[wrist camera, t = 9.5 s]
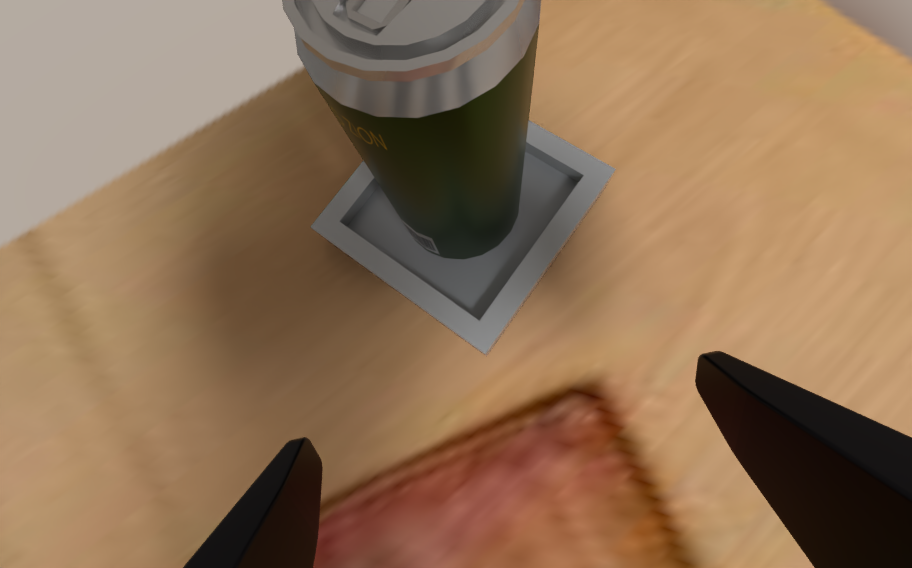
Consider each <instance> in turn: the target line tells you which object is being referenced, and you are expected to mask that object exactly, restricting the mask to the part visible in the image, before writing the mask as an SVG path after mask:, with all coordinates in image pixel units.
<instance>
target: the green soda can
mask: <svg viewBox="0 0 912 568" xmlns="http://www.w3.org/2000/svg"><path fill="white" fill-rule="evenodd" d="M282 2H283V9H284V11H285V13H286V15H287V16H288V18H289V20H290V22H291V23H292V25H293V27H294V31H295V38H296V45H297V53H298V55H299V57H300V59H301V61H302V62H303V64H304V66H305V68H306V70H307V71H308V73H309V75H310V77H311V78H312V80H313V82H314V83H315V85H316V87H317V88H318V90H319V91H320V93H321V94H322V96H323V98H324V99H325V101H326V102H327V104H328V105H329V107H330V109H331V110H332V112H333V113H334V115H335V116H336V118H337V120H338V121H339V123H340V124H341V126H342V127H343V129H344V130H345V132H346V134H347V135H348V137H349V138H350V140H351V141H352V143H353V145H354V146H355V148H356V149H357V151H358V152H359V154H360V156H361V157H362V159H363V160H364V162H365V163H366V165H367V167H368V168H369V170H370V171H371V173H372V174H373V176H374V178H375V179H376V181H377V182H378V184H379V185H380V187H381V189H382V190H383V192H384V193H385V195H386V196H387V198H388V200H389V201H390V203H391V204H392V206H393V207H394V209H395V211H396V212H397V214H398V215H399V217H400V218H401V220H402V222H403V223H404V225H405V226H406V228H407V229H408V231H409V233H410V234H411V236H412V237H413V239H414V240H415V241H416V242H417V243H418V244H420V245H421V246H422V247H423V248H424V249H425V250H427V251H428V252H431V253H433V254H436V255H438V256H440V257H443V258H449V259H463V260H464V259H468V258H472V257H476V256H481V255H483V254H485V253H487V252H488V251H490V250H492V249H493V248H495V247H497V246H498V245H499V244H500V243H501V242H502V241H503V240H504V239H505V238H506V237H507V235H508V234H509V233H510V232H511V230H512V228H513V226H514V224H515V221H516V219H517V217H518V213H519V203H520V194H521V185H522V176H523V167H524V158H525V149H526V139H527V130H528V121H529V112H530V103H531V94H532V85H533V75H534V66H535V57H536V48H537V39H538V30H539V19H540V6H541V0H282Z"/></svg>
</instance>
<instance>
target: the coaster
mask: <svg viewBox="0 0 912 568" xmlns="http://www.w3.org/2000/svg"><path fill="white" fill-rule="evenodd" d="M615 170H616V169H615V168H613V167H611V166H609V165H607V164H606V163H604V162H602V161H600V160H599V159H597V158H595V157H593V156H591V155H590V154H588V153H586V152H584V151H583V150H581V149H579V148H577V147H575V146H574V145H572V144H570V143H568V142H567V141H565V140H563V139H561V138H560V137H558V136H556V135H554V134H552V133H551V132H549V131H547V130H545V129H544V128H542V127H540V126H538V125H536V124H535V123H533V122H531V121H528V130H527V139H526V149H525V158H524V167H523V176H522V185H521V194H520V203H519V213H518V217H517V219H516V221H515V224H514V226H513V228H512V230H511V232H510V233H509V234H508V235H507V237H506V238H505V239H504V240H503V241H502V242H501V243H500V244H499V245H498V246H497V247H495V248H493V249H492V250H490V251H488V252H487V253H485V254H483V255H481V256H476V257H472V258H468V259H464V260H463V259H449V258H443V257H440V256H438V255H436V254H433V253H431V252H428V251H427V250H425V249H424V248H423V247H422V246H421V245H420V244H418V243H417V242H416V241H415V240H414V239H413V237H412V236H411V234H410V233H409V231H408V229H407V228H406V226H405V225H404V223H403V222H402V220H401V218H400V217H399V215H398V214H397V212H396V211H395V209H394V207H393V206H392V204H391V203H390V201H389V200H388V198H387V196H386V195H385V193H384V192H383V190H382V189H381V187H380V185H379V184H378V182H377V181H376V179H375V178H374V176H373V174H372V173H371V171H370V170H369V168H368V167H367V165H366V163H365V162H364V160H363V162H362V163H361V164H360V165H359V167H358V168H357V169H356V170H355V172H354V173H353V174H352V175H351V177H350V178H349V179H348V180H347V182H346V183H345V184H344V185H343V187H342V188H341V189H340V190H339V192H338V193H337V194H336V195H335V197H334V198H333V199H332V200H331V202H330V203H329V204H328V205H327V207H326V208H325V209H324V210H323V212H322V213H321V214H320V215H319V217H318V218H317V219H316V220H315V222H314V223H313V224H312V225H311V228H312V229H313V230H315V231H316V232H317V233H319V234H320V235H321V236H322V237H324V238H325V239H326V240H327V241H329V242H330V243H332V244H333V245H334V246H336V247H337V248H338V249H340V250H341V251H343V252H344V253H345V254H347V255H348V256H349V257H351V258H352V259H354V260H355V261H356V262H358V263H359V264H360V265H362V266H363V267H365V268H366V269H367V270H369V271H370V272H371V273H373V274H374V275H376V276H377V277H378V278H380V279H381V280H382V281H384V282H385V283H387V284H388V285H389V286H391V287H392V288H393V289H395V290H396V291H398V292H399V293H400V294H402V295H403V296H404V297H406V298H407V299H409V300H410V301H411V302H413V303H414V304H415V305H417V306H418V307H420V308H421V309H422V310H424V311H425V312H426V313H428V314H429V315H431V316H432V317H433V318H435V319H436V320H437V321H439V322H440V323H442V324H443V325H444V326H446V327H447V328H448V329H450V330H451V331H453V332H454V333H455V334H457V335H458V336H459V337H461V338H462V339H464V340H465V341H466V342H468V343H469V344H470V345H472V346H473V347H474V348H476V349H477V350H479V351H480V352H481V353H483V354H484V355H485V356H487V355H488V354H489V352H490V351H491V350H492V348H493V347H494V345H495V344H496V342H497V341H498V340H499V338H500V337H501V335H502V334H503V333H504V331H505V330H506V328H507V327H508V325H509V324H510V323H511V321H512V320H513V318H514V317H515V316H516V314H517V313H518V311H519V310H520V308H521V307H522V306H523V304H524V303H525V301H526V300H527V298H528V297H529V296H530V294H531V293H532V291H533V290H534V289H535V287H536V286H537V284H538V283H539V281H540V280H541V279H542V277H543V276H544V274H545V273H546V272H547V270H548V269H549V267H550V266H551V264H552V263H553V262H554V260H555V259H556V257H557V256H558V255H559V253H560V252H561V250H562V249H563V247H564V246H565V245H566V243H567V242H568V240H569V239H570V237H571V236H572V235H573V233H574V232H575V230H576V229H577V228H578V226H579V225H580V223H581V222H582V220H583V219H584V218H585V216H586V215H587V213H588V212H589V211H590V209H591V208H592V206H593V205H594V203H595V202H596V201H597V199H598V198H599V196H600V195H601V194H602V192H603V191H604V189H605V188H606V186H607V184H608V182H609V180H610V179H611V177H612V175H613V173H614V171H615Z"/></svg>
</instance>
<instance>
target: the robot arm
mask: <svg viewBox="0 0 912 568" xmlns="http://www.w3.org/2000/svg"><path fill="white" fill-rule="evenodd" d="M695 382H696V387H697V390H698V392H699V394H700V396H701V397H702V399H703V401H704V403H705V404H706V406H707V408H708V410H709V411H710V413H711V415H712V417H713V419H714V420H715V422H716V424H717V426H718V427H719V429H720V431H721V433H722V434H723V436H724V438H725V440H726V441H727V443H728V445H729V446H730V448H731V450H732V451H733V453H734V455H735V456H736V458H737V459H738V461H739V462H740V463H741V465H742V466H743V468H744V469H745V471H746V472H747V473H748V475H749V476H750V478H751V479H752V480H753V482H754V483H755V485H756V486H757V487H758V489H759V490H760V492H761V493H762V494H763V496H764V497H765V499H766V500H767V501H768V503H769V504H770V506H771V507H772V508H773V510H774V511H775V513H776V514H777V515H778V517H779V518H780V520H781V521H782V522H783V524H784V525H785V527H786V528H787V529H788V531H789V532H790V534H791V535H792V537H793V538H794V539H795V541H796V542H797V544H798V545H799V546H800V548H801V549H802V551H803V552H804V553H805V555H806V556H807V558H808V559H809V560H810V562H811V563H812V565H813V566H814V567H815V568H912V438H911V437H909V436H907V435H905V434H903V433H900V432H898V431H896V430H894V429H892V428H889V427H887V426H885V425H883V424H881V423H878V422H876V421H874V420H872V419H870V418H867V417H865V416H863V415H861V414H858V413H856V412H854V411H852V410H850V409H847V408H845V407H843V406H841V405H839V404H836V403H834V402H832V401H830V400H828V399H825V398H823V397H821V396H819V395H817V394H814V393H812V392H810V391H808V390H805V389H803V388H801V387H799V386H797V385H794V384H792V383H790V382H788V381H786V380H783V379H781V378H779V377H777V376H775V375H772V374H770V373H768V372H766V371H764V370H761V369H759V368H757V367H755V366H752V365H750V364H748V363H746V362H744V361H741V360H739V359H737V358H735V357H733V356H730V355H728V354H726V353H724V352H721V351H714V352H709V353H704V354H701V355H700V356H699V357H698V363H697V371H696V379H695ZM321 484H322V462H321V459H320V457H319V455H318V453H317V452H316V450H315V448H314V446H313V445H312V443H311V441H310V440H309V439H308V438H306V437H303V438H299V439H294V440H290V441H289V442H287V443H286V444H285V446H284V447H283V448H282V449H281V450H280V452H279V453H278V454H277V455H276V456H275V458H274V459H273V460H272V461H271V462H270V464H269V465H268V466H267V467H266V468H265V470H264V471H263V472H262V473H261V474H260V476H259V477H258V478H257V479H256V480H255V482H254V483H253V484H252V485H251V487H250V488H249V489H248V490H247V491H246V493H245V494H244V495H243V496H242V497H241V499H240V500H239V501H238V502H237V503H236V505H235V506H234V507H233V508H232V509H231V511H230V512H229V513H228V514H227V515H226V517H225V518H224V519H223V520H222V521H221V523H220V524H219V525H218V526H217V527H216V529H215V530H214V531H213V532H212V533H211V535H210V536H209V537H208V538H207V539H206V541H205V542H204V543H203V544H202V545H201V547H200V548H199V549H198V550H197V551H196V553H195V554H194V555H193V556H192V557H191V559H190V560H189V561H188V562H187V563H186V565H185V566H184V567H183V568H313V565H314V559H315V553H316V546H317V539H318V529H319V515H320V500H321Z"/></svg>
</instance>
